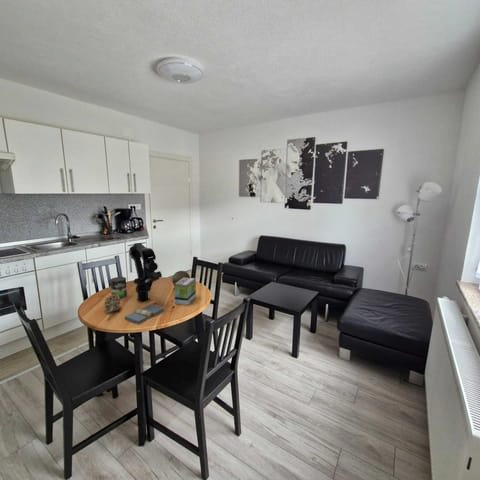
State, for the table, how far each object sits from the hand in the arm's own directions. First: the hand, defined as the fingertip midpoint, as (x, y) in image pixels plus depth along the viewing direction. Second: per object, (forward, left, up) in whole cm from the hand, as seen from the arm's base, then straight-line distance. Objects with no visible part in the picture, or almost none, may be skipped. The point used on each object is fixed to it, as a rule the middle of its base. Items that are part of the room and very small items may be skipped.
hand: (149, 290), depth 169 cm
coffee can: (+1, -30, -11) cm, 32 cm away
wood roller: (+12, +8, -9) cm, 17 cm away
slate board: (+11, +8, -11) cm, 17 cm away
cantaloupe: (-34, -2, -11) cm, 36 cm away
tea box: (-19, +15, -11) cm, 27 cm away
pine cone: (+19, -13, -11) cm, 25 cm away
